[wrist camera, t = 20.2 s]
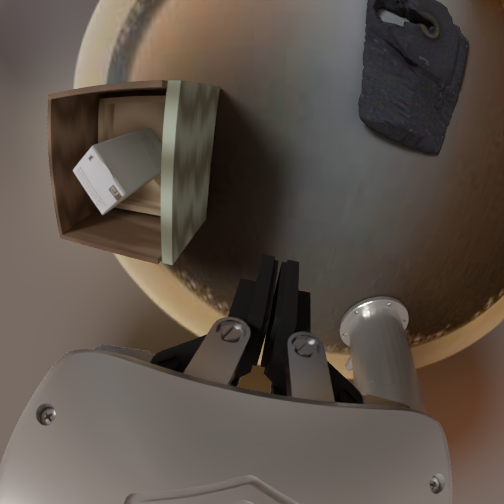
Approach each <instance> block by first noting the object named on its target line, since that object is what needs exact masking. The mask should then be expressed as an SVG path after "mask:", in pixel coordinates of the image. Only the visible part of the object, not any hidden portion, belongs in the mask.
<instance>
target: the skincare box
mask: <svg viewBox="0 0 504 504" xmlns="http://www.w3.org/2000/svg"><path fill="white" fill-rule="evenodd" d="M161 160H162V144H161V143H160V141H159V140H158V138H157V137H156V135H155V134H154V132H153V131H152V129H151V128H148V129H144V130H140V131H137V132H133V133H130V134H126V135H123V136H119V137H116V138H113V139H110V140H107V141H104V142H101V143H98V144H95V145H93V146H92V147H91V148H90V149H89V150H88V152H87V153H86V154H85V155H84V156H83V158H82V159H81V160H80V161H79V163H78V164H77V165H76V167H75V168H74V169H73V172H74V174H75V175H76V177H77V178H78V180H79V181H80V183H81V184H82V186H83V187H84V189H85V190H86V192H87V193H88V195H89V196H90V198H91V199H92V201H93V202H94V204H95V205H96V207H97V208H98V209H99V211H100V212H101V214H102V215H104V214H106V213H107V212H109V211H110V210H111V209H112V208H114V207H115V206H116V205H118V204H119V203H120V202H122V201H123V200H124V199H126V198H127V197H129V196H130V195H131V194H133V193H134V192H136V191H137V190H139V189H140V188H141V187H143V186H144V185H146V184H147V183H149V182H150V181H152V180H153V179H154V178H156V177H157V176H158V175H159V174H161Z"/></svg>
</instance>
